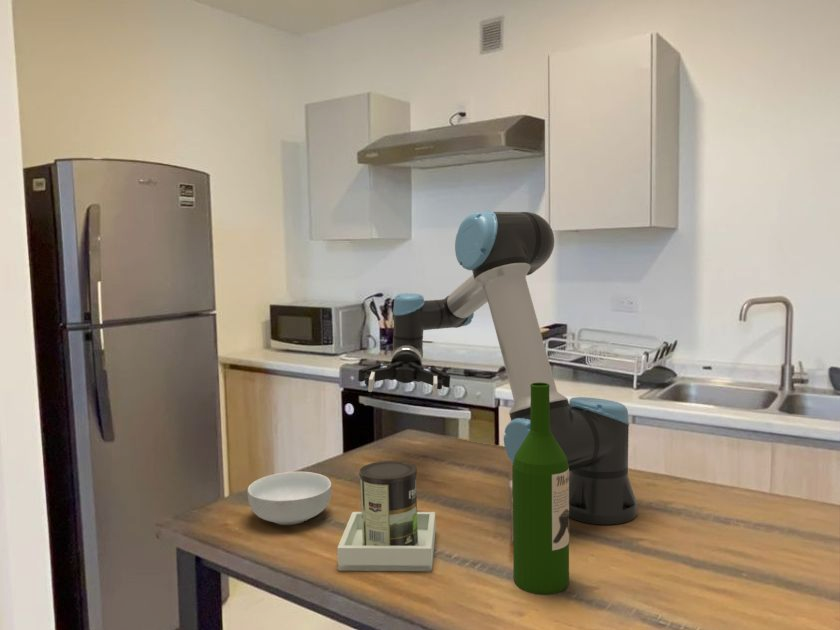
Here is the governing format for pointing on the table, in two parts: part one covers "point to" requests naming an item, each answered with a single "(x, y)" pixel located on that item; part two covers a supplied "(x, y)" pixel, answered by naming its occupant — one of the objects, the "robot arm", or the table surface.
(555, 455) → the wine bottle
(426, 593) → the table surface
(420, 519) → the tray
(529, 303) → the robot arm
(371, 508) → the coffee can
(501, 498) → the table surface
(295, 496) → the cereal bowl
